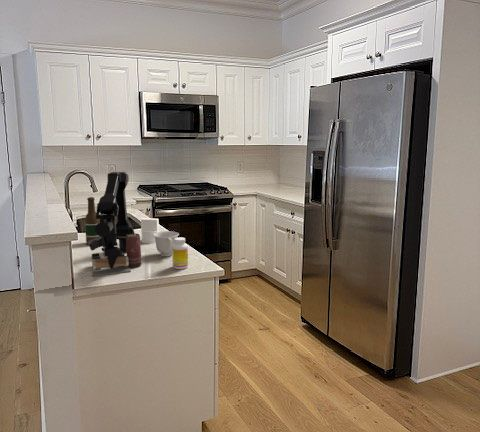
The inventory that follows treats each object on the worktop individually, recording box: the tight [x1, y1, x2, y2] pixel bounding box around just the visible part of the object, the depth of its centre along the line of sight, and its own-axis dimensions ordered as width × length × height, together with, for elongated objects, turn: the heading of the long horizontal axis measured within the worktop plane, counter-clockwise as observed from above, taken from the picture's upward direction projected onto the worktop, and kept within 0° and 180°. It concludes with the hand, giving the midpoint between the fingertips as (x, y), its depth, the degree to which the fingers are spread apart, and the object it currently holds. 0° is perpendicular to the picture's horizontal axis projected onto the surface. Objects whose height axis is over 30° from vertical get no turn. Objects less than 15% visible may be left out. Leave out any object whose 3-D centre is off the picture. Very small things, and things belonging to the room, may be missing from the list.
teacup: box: [153, 230, 180, 257], centre depth 209 cm, size 12×15×10 cm
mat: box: [91, 266, 131, 278], centre depth 186 cm, size 6×15×1 cm, turn 113°
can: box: [125, 232, 142, 269], centre depth 193 cm, size 6×6×14 cm
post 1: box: [91, 252, 102, 270], centre depth 191 cm, size 6×3×6 cm, turn 23°
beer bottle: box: [84, 196, 100, 246], centre depth 226 cm, size 8×8×24 cm
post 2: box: [117, 251, 126, 267], centre depth 195 cm, size 6×3×6 cm, turn 23°
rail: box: [91, 255, 129, 270], centre depth 186 cm, size 3×14×3 cm, turn 113°
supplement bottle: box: [171, 236, 189, 270], centre depth 192 cm, size 7×7×13 cm
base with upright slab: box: [140, 217, 160, 245], centre depth 233 cm, size 9×9×12 cm
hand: (110, 266), depth 186 cm, fingers closed on rail, 3 cm apart
